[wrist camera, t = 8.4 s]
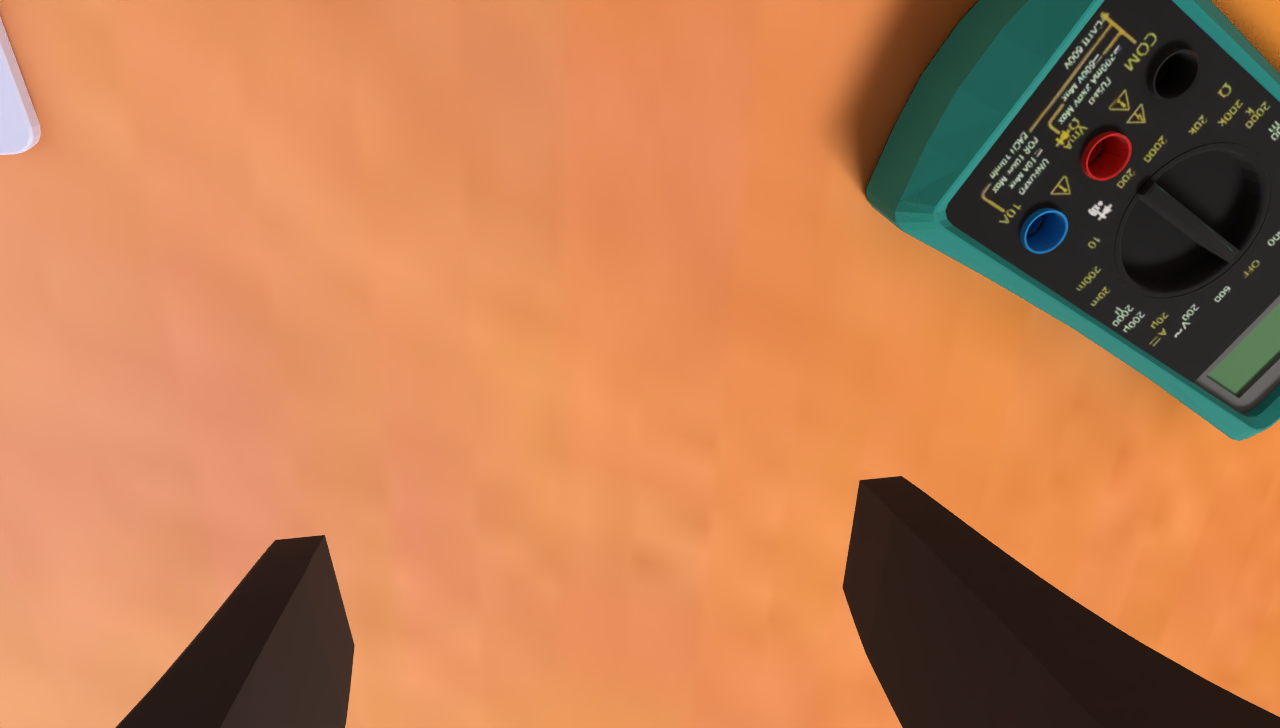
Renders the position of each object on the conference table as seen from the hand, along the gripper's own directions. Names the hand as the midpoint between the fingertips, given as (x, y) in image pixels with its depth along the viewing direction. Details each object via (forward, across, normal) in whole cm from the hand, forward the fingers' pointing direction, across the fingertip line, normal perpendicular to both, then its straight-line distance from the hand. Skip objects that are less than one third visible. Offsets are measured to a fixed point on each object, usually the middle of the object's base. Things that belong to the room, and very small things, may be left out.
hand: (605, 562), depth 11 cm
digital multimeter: (+11, -15, -1) cm, 19 cm away
